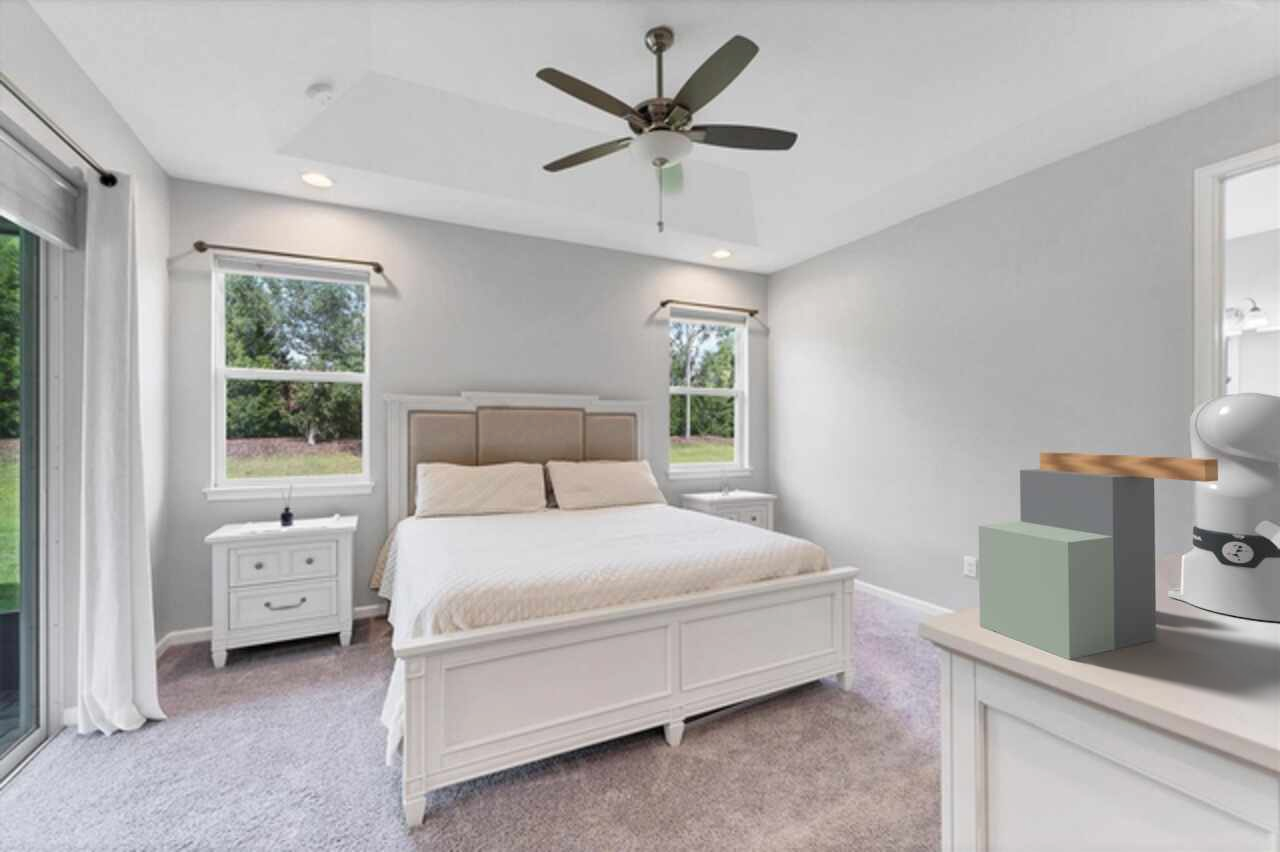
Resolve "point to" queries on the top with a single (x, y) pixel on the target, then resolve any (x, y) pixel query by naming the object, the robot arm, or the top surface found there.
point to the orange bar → (1132, 466)
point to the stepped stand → (1073, 564)
